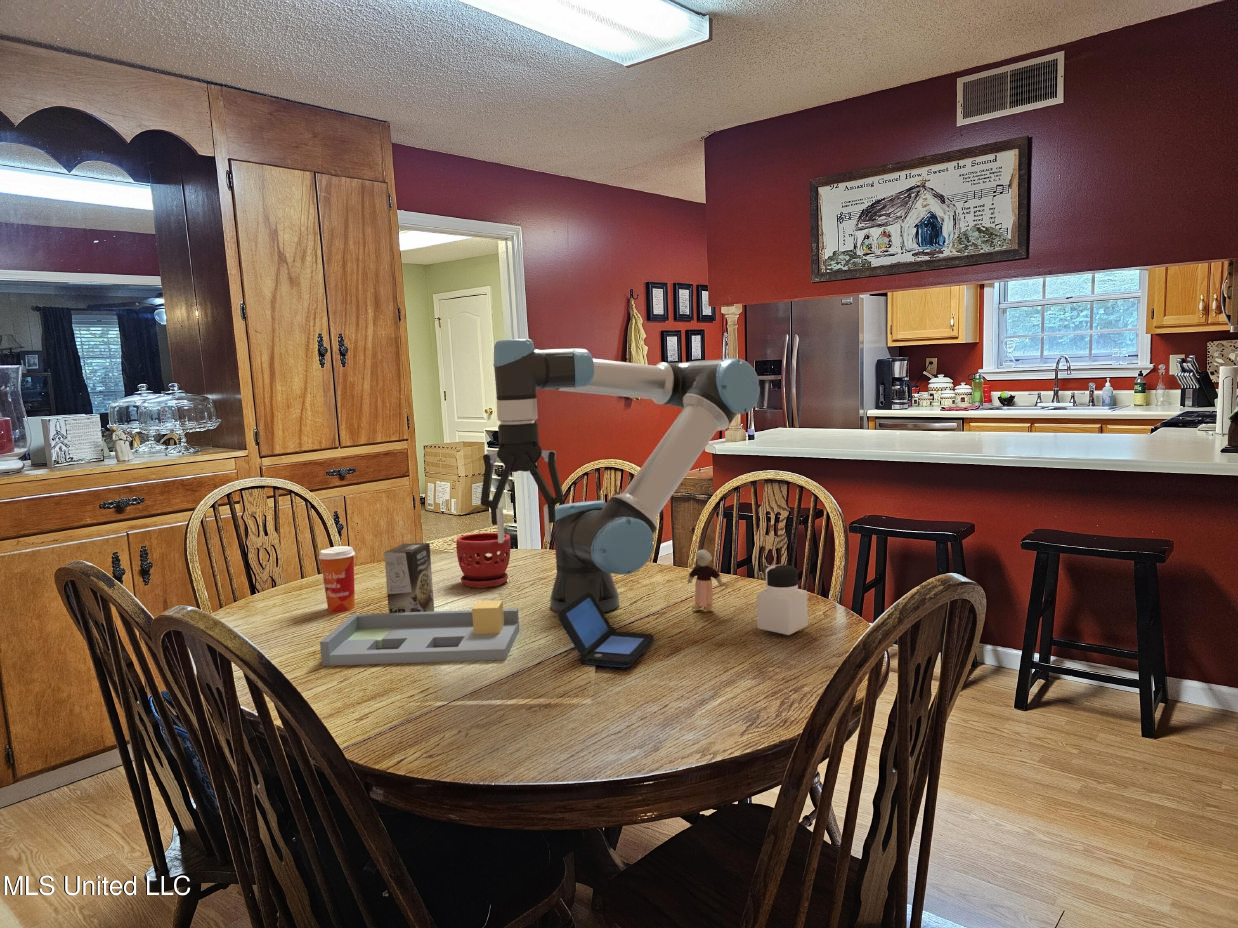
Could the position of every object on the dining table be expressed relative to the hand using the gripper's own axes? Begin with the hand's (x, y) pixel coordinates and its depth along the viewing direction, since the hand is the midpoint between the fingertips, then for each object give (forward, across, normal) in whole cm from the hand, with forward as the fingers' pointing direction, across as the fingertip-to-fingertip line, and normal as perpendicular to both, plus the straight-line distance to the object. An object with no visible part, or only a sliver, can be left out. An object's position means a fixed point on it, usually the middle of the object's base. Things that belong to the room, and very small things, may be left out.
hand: (524, 540), depth 153 cm
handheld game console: (+20, -16, +8) cm, 26 cm away
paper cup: (+20, +46, -23) cm, 55 cm away
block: (+17, +8, 0) cm, 19 cm away
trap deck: (+19, +19, +4) cm, 27 cm away
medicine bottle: (+20, -49, -1) cm, 53 cm away
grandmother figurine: (+20, -35, -16) cm, 43 cm away
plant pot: (+20, +17, -42) cm, 50 cm away
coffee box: (+20, +27, -14) cm, 36 cm away
